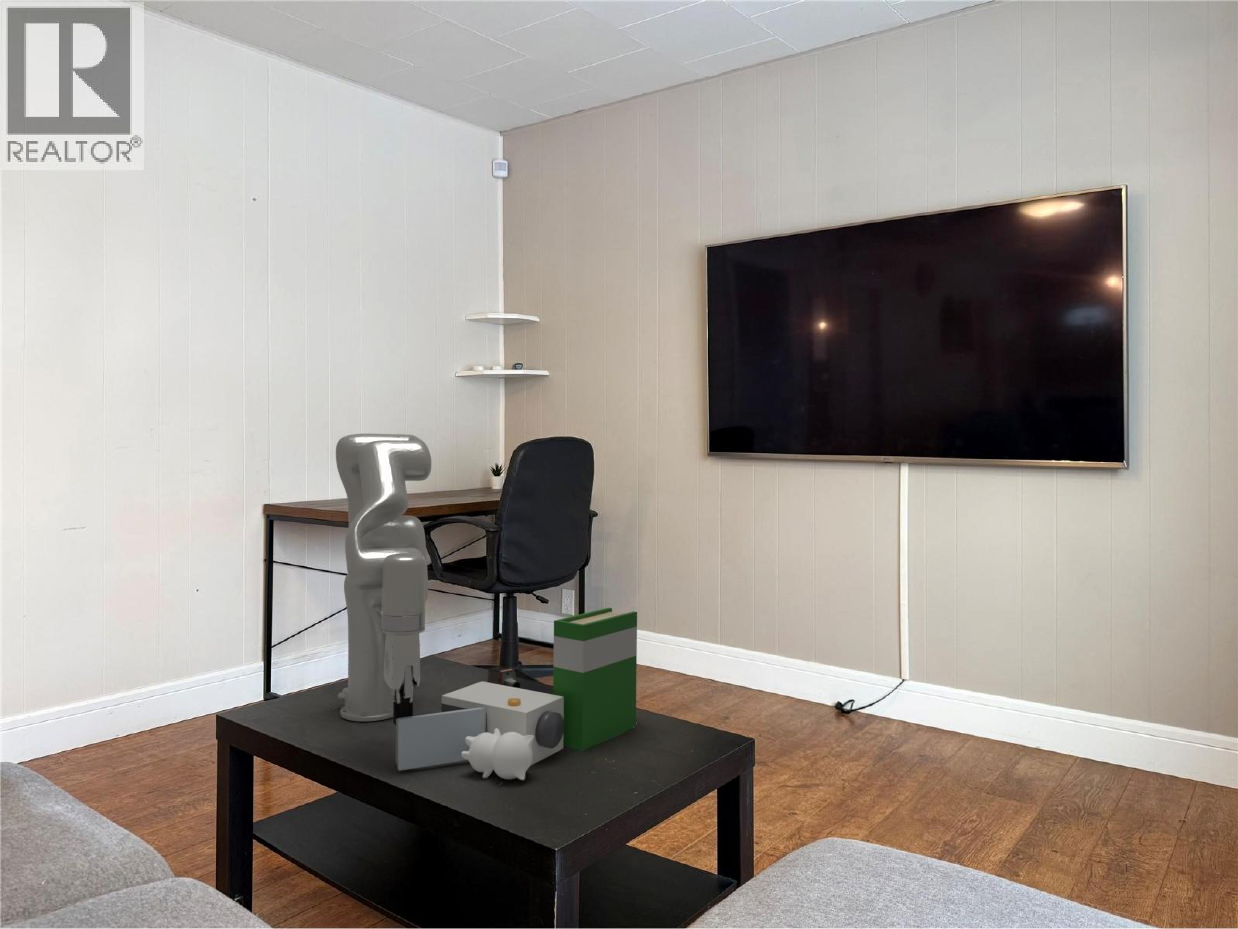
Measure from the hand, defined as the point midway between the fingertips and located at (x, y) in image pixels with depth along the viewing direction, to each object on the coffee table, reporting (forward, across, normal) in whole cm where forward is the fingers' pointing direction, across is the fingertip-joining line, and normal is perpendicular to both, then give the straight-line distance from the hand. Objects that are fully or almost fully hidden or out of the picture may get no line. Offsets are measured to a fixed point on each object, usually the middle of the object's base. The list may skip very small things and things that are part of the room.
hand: (402, 723), depth 159 cm
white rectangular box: (+8, -2, +19) cm, 21 cm away
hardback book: (+8, -2, +39) cm, 39 cm away
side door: (+7, +3, +6) cm, 10 cm away
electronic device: (+8, -30, +28) cm, 42 cm away
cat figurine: (+8, +11, +15) cm, 20 cm away
